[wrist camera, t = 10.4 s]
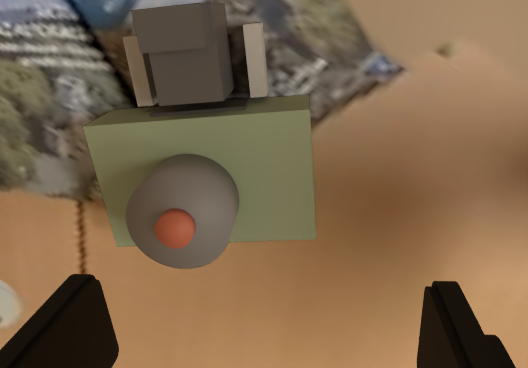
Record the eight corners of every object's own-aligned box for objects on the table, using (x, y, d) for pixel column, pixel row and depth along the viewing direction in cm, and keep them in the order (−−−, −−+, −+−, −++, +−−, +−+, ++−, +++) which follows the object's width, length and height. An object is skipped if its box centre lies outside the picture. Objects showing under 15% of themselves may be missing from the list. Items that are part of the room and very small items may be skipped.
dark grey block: (224, 3, 29) (203, 2, 22) (235, 87, 31) (218, 107, 25) (164, 10, 29) (127, 10, 23) (179, 91, 31) (149, 113, 25)
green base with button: (304, 17, 28) (306, 22, 19) (314, 208, 35) (319, 280, 26) (95, 39, 30) (7, 52, 21) (139, 216, 36) (86, 286, 27)
